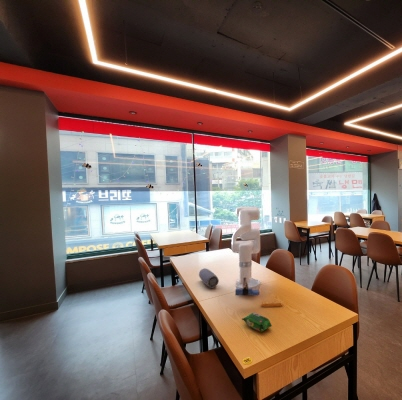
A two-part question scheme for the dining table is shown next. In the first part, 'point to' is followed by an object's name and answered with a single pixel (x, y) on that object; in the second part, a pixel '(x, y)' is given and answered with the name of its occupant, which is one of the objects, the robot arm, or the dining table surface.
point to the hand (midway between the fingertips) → (245, 293)
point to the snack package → (257, 322)
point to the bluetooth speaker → (208, 278)
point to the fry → (271, 304)
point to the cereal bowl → (249, 284)
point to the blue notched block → (250, 292)
